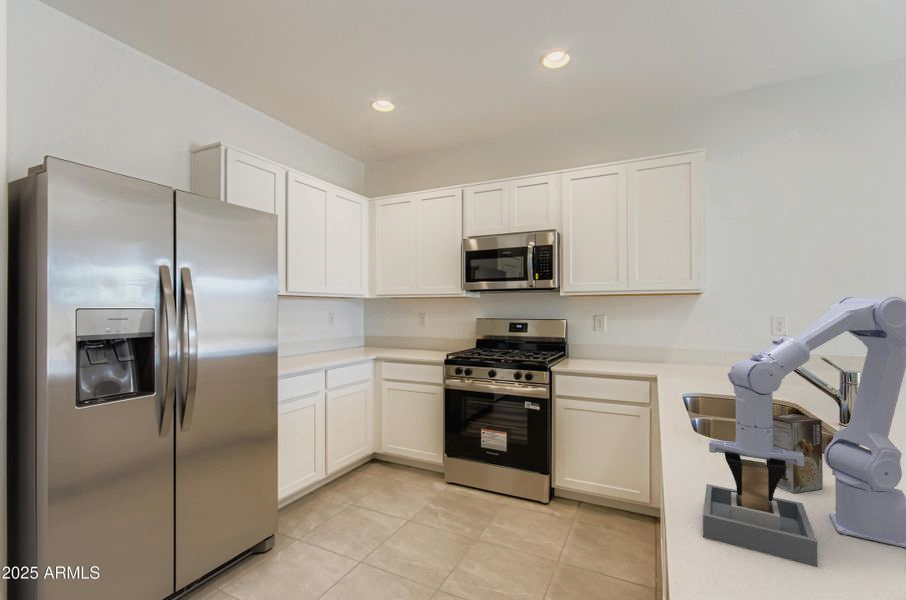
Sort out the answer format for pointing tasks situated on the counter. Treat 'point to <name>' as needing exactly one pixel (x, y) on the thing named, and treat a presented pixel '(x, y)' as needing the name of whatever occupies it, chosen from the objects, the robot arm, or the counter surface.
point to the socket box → (759, 525)
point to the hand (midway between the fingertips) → (754, 496)
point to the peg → (754, 485)
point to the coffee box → (801, 438)
